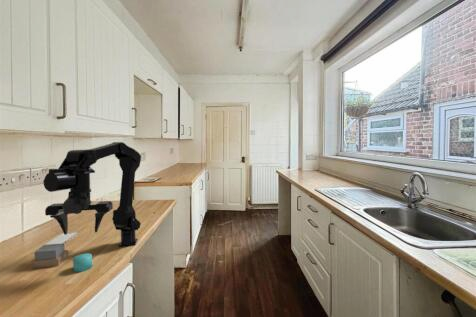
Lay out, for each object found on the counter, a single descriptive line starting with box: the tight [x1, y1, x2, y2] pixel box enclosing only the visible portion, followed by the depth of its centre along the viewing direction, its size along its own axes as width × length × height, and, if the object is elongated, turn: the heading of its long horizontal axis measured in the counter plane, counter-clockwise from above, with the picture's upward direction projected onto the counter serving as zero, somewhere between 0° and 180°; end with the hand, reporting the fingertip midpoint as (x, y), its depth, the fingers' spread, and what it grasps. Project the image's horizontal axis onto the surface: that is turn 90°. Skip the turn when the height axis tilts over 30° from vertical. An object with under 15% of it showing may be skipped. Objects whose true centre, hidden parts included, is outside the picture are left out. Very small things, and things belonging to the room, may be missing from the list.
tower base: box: [31, 249, 69, 270], centre depth 91 cm, size 8×8×3 cm
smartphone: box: [42, 231, 79, 246], centre depth 113 cm, size 7×1×15 cm
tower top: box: [34, 243, 66, 260], centre depth 91 cm, size 6×6×3 cm
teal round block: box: [72, 252, 93, 273], centre depth 87 cm, size 6×6×4 cm
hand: (81, 233), depth 86 cm, fingers open, 9 cm apart
